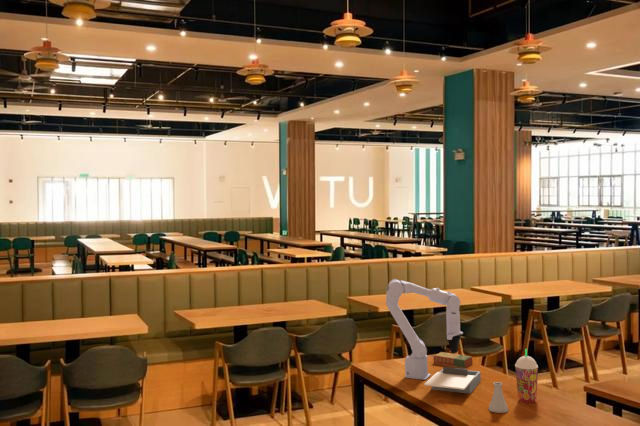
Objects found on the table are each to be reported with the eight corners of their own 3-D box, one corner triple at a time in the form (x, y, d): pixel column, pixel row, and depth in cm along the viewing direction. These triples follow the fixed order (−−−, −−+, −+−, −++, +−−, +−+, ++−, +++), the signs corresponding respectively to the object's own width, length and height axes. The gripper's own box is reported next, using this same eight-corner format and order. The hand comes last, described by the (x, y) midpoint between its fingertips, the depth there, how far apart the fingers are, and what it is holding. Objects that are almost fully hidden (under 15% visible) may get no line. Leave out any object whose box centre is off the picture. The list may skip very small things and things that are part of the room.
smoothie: (511, 399, 246) (509, 348, 246) (528, 396, 250) (527, 345, 249) (526, 405, 239) (524, 352, 238) (543, 402, 242) (542, 349, 241)
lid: (424, 385, 254) (424, 377, 254) (437, 373, 270) (437, 365, 270) (464, 389, 247) (464, 381, 247) (475, 376, 263) (475, 369, 263)
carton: (441, 360, 307) (441, 351, 307) (472, 365, 297) (472, 355, 297) (433, 364, 301) (433, 355, 301) (465, 369, 291) (465, 359, 291)
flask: (509, 407, 238) (508, 381, 237) (508, 414, 231) (507, 387, 230) (489, 406, 240) (488, 379, 240) (487, 412, 233) (486, 385, 233)
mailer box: (431, 389, 262) (431, 379, 262) (443, 377, 278) (443, 368, 278) (470, 393, 255) (470, 383, 255) (480, 381, 271) (480, 371, 271)
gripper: (457, 325, 270) (459, 357, 271) (466, 318, 283) (467, 349, 284) (441, 324, 273) (442, 356, 274) (450, 318, 286) (451, 348, 287)
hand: (454, 352), depth 279 cm, fingers closed
